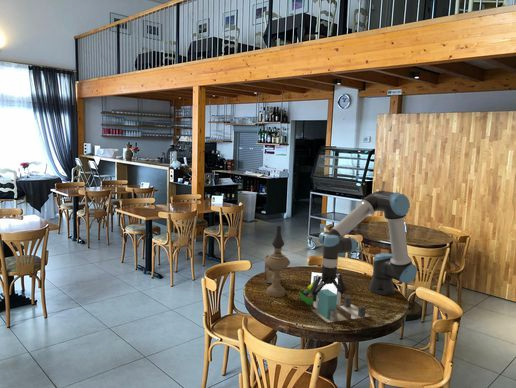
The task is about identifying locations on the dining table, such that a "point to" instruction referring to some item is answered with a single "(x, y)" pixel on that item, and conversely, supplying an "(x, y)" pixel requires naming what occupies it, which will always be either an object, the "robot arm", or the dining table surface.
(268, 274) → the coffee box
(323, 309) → the teal box
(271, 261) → the oil lamp
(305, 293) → the fruit basket
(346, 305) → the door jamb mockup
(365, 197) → the robot arm
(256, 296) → the dining table surface
